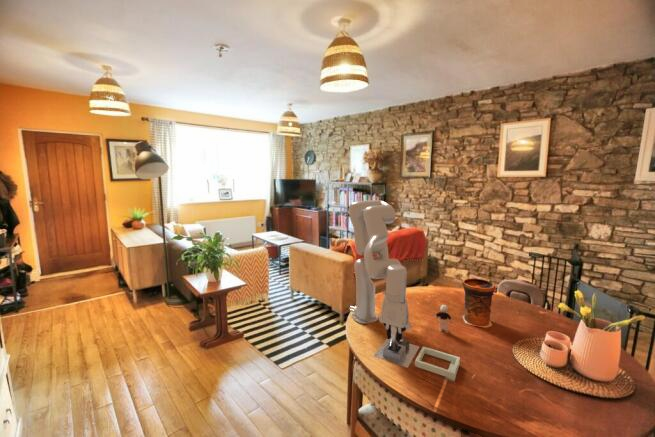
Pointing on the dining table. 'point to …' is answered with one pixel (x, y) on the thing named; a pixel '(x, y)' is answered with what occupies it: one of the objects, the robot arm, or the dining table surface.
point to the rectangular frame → (448, 374)
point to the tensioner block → (398, 352)
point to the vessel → (478, 302)
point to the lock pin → (393, 338)
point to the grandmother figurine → (443, 319)
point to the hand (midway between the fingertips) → (394, 338)
